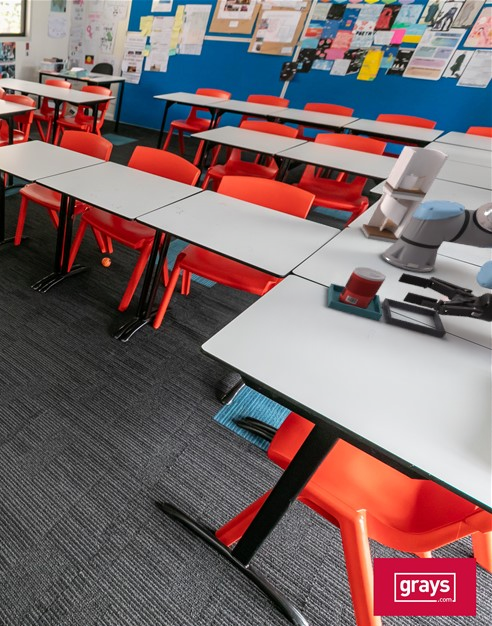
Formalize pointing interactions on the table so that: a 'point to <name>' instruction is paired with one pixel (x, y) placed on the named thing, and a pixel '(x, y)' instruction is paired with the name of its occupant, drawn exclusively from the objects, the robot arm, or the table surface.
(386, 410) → the table surface
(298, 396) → the table surface
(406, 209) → the white tiered tower
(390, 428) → the table surface
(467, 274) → the table surface
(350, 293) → the canned food
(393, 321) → the tray
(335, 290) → the tray
